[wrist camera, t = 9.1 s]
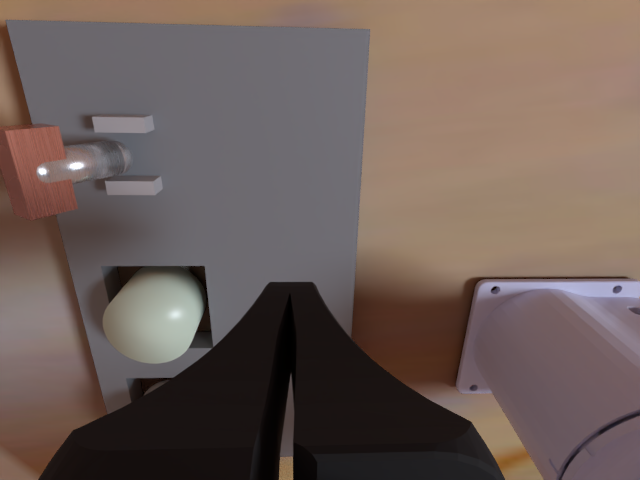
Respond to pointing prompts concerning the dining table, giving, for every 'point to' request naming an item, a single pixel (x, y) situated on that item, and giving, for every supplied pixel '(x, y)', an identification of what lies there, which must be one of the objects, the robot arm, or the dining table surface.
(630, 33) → the dining table surface
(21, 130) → the toggle lever
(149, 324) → the sage button
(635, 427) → the robot arm
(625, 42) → the dining table surface
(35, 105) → the panel
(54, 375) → the dining table surface
